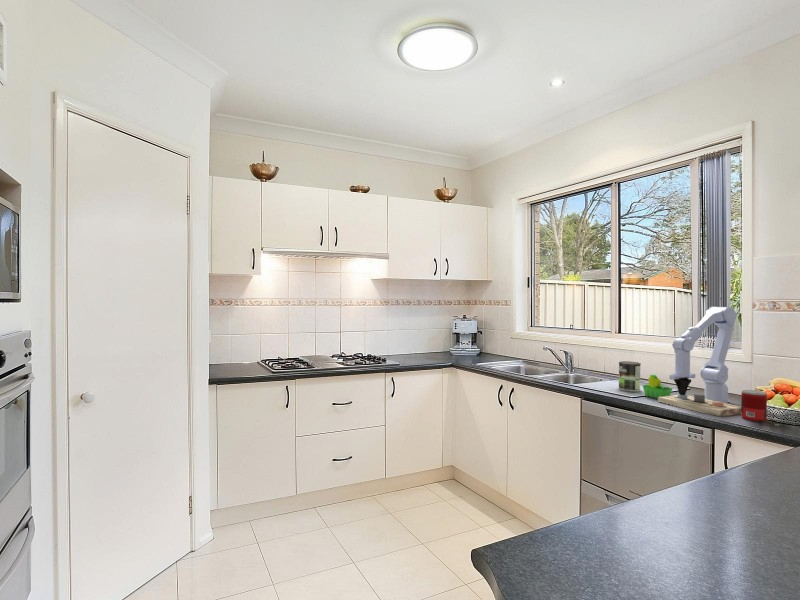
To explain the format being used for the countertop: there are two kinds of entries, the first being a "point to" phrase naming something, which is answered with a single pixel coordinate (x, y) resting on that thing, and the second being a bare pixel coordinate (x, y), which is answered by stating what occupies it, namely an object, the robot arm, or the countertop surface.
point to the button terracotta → (717, 404)
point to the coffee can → (629, 376)
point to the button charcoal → (699, 398)
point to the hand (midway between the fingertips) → (682, 394)
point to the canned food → (754, 405)
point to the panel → (701, 406)
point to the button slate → (682, 396)
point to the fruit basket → (656, 388)
